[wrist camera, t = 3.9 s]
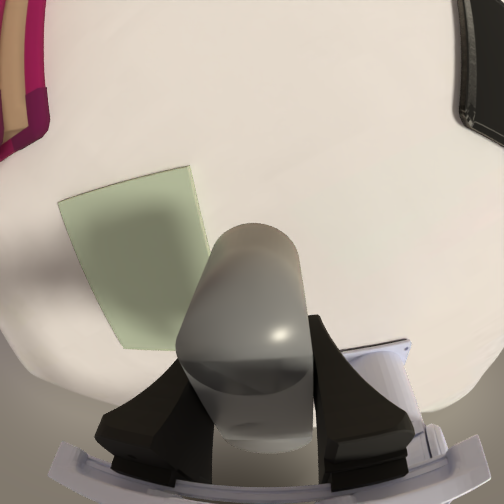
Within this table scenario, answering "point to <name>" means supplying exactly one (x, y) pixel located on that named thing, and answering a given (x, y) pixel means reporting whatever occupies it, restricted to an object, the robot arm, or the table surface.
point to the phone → (482, 67)
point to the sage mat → (141, 253)
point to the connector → (251, 341)
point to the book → (22, 75)
